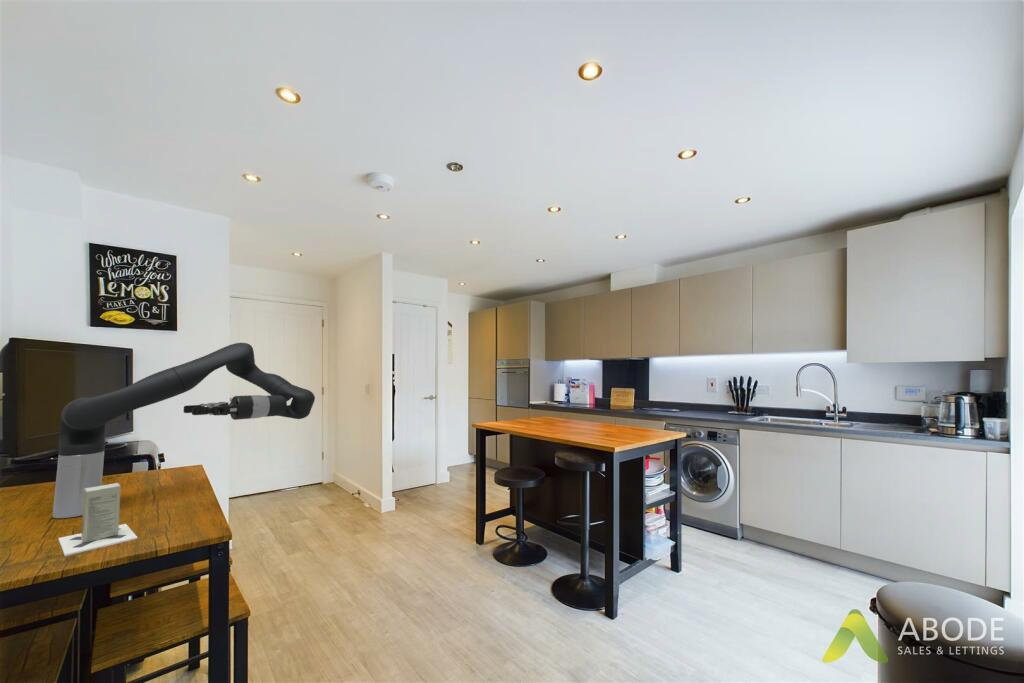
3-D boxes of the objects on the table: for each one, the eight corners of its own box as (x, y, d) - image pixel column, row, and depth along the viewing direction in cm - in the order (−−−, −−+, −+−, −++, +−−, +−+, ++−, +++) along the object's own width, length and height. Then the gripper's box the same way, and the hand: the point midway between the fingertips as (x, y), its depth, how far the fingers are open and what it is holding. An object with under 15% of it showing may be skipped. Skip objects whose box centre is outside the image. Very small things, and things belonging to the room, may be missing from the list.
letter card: (58, 539, 97) (58, 537, 97) (125, 525, 107) (125, 523, 107) (64, 556, 89) (65, 554, 89) (137, 538, 98) (137, 536, 98)
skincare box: (115, 530, 102) (119, 482, 103) (118, 535, 99) (122, 485, 100) (78, 538, 97) (83, 487, 98) (80, 543, 94) (85, 491, 95)
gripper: (242, 394, 134) (181, 396, 121) (259, 396, 126) (196, 398, 113) (241, 416, 134) (180, 421, 121) (258, 420, 125) (194, 425, 112)
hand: (188, 410), depth 117 cm, fingers open, 8 cm apart
